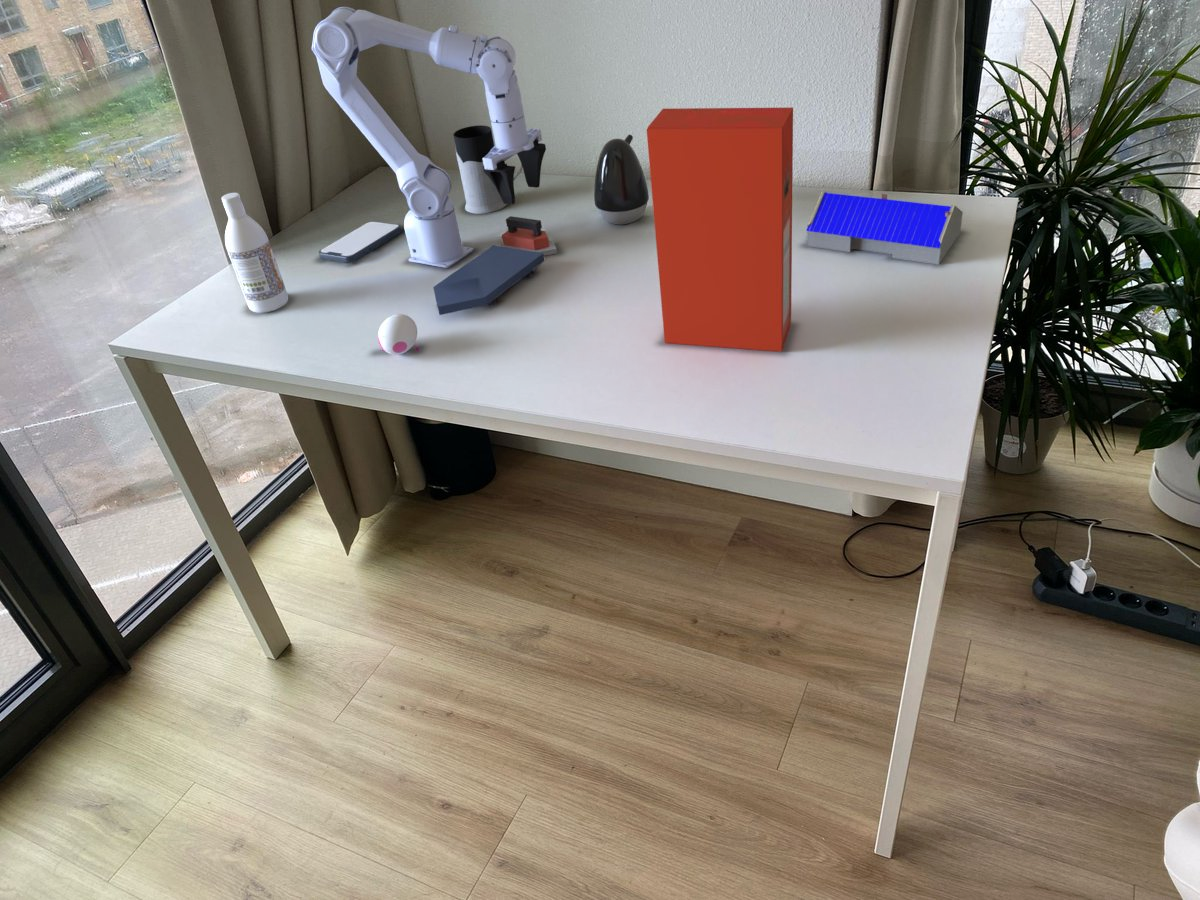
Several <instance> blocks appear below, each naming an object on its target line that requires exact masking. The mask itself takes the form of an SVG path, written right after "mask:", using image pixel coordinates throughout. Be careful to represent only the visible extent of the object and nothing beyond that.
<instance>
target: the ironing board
mask: <svg viewBox="0 0 1200 900" xmlns="http://www.w3.org/2000/svg"><path fill="white" fill-rule="evenodd" d="M544 262H545V256H544V254H543V253H539V252H533V251H527V250H521V249H514V248H508V247H502V246H501V245H494V244H493V245H491V246H490V247H488V248H487V249H485V250H484V251H482V252H481V253H480V254H478V255H477V256H475V257H474V258H472V259H471V260H470V261H468V262H466V263H465V264H464V265H462V266H460V267H459V268H458V269H457V270H455V271H454V272H452V273H451V274H449V275H448V276H447V277H445V278H444V279H442V280H441V281H439V282H438V283H437V284H435V285H434V286H433V287H432V289H433V292H434V297H435V302H436V307H437V311H438V315H439V316H443V315H446V314H447V315H448V314H451V313H457V312H460V311H465V310H466V311H467V310H470V309H475V308H479V307H484V306H488V305H489V306H494V305H495V304H496V303H497V298H499V296H501V295H502V294H503V293H504V292H506V291H507V290H508V289H510V288H511V287H512V286H514V285H516V283H518V282H519V281H520V280H521V279H523V278H524V277H528V278H529V277H532V276H533V275H534V270H535V269H536V268H537V267H539V266H540V265H542V264H543V263H544Z"/></svg>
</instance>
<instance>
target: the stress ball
mask: <svg viewBox="0 0 1200 900" xmlns="http://www.w3.org/2000/svg"><path fill="white" fill-rule="evenodd" d="M417 338H418V327H417V324H416V322H415V320H414V319H413V318H412V317H410V316H409V315H407V314H403V313H396V314H393V315H390V316H388V317H387V318H386V319H385V320H384V321H383V322H382V323H381V325H380V327H379V328H378V332H377V340H378V344H379V346H380V348H381V349H382V350H381V352H385V353H387V354H389V355H393V356H398V355H402V354H404V353H406V352H407V351H409V350H410V349H412V348H413V346H414V348H415V350H416V351H417V352H418V351H419V349H420V347H418V346H416V345H415V343H416V341H417Z"/></svg>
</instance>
